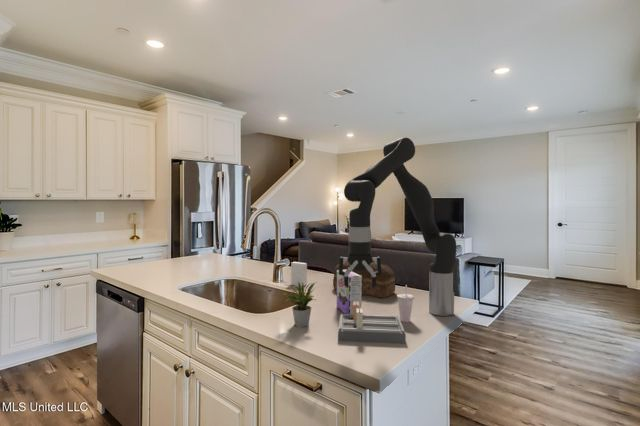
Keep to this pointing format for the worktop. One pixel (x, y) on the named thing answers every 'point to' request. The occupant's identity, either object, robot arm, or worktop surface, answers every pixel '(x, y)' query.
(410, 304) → the smoothie
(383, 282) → the bread
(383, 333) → the console
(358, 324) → the fader near
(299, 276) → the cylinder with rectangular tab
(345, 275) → the robot arm
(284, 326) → the worktop surface
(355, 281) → the candy box
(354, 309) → the block
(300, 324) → the house plant
